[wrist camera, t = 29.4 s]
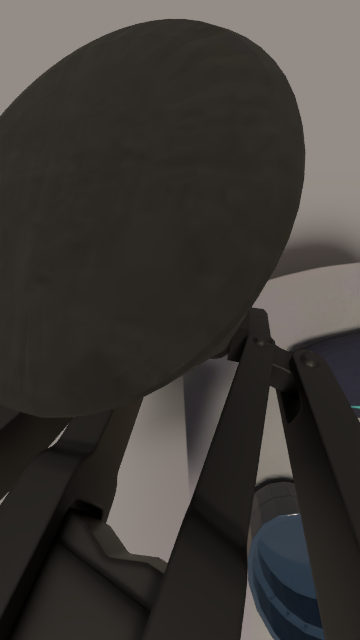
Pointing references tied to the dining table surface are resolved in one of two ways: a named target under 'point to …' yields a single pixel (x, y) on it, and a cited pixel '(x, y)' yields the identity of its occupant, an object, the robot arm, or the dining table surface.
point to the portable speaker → (343, 364)
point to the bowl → (281, 566)
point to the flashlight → (139, 212)
